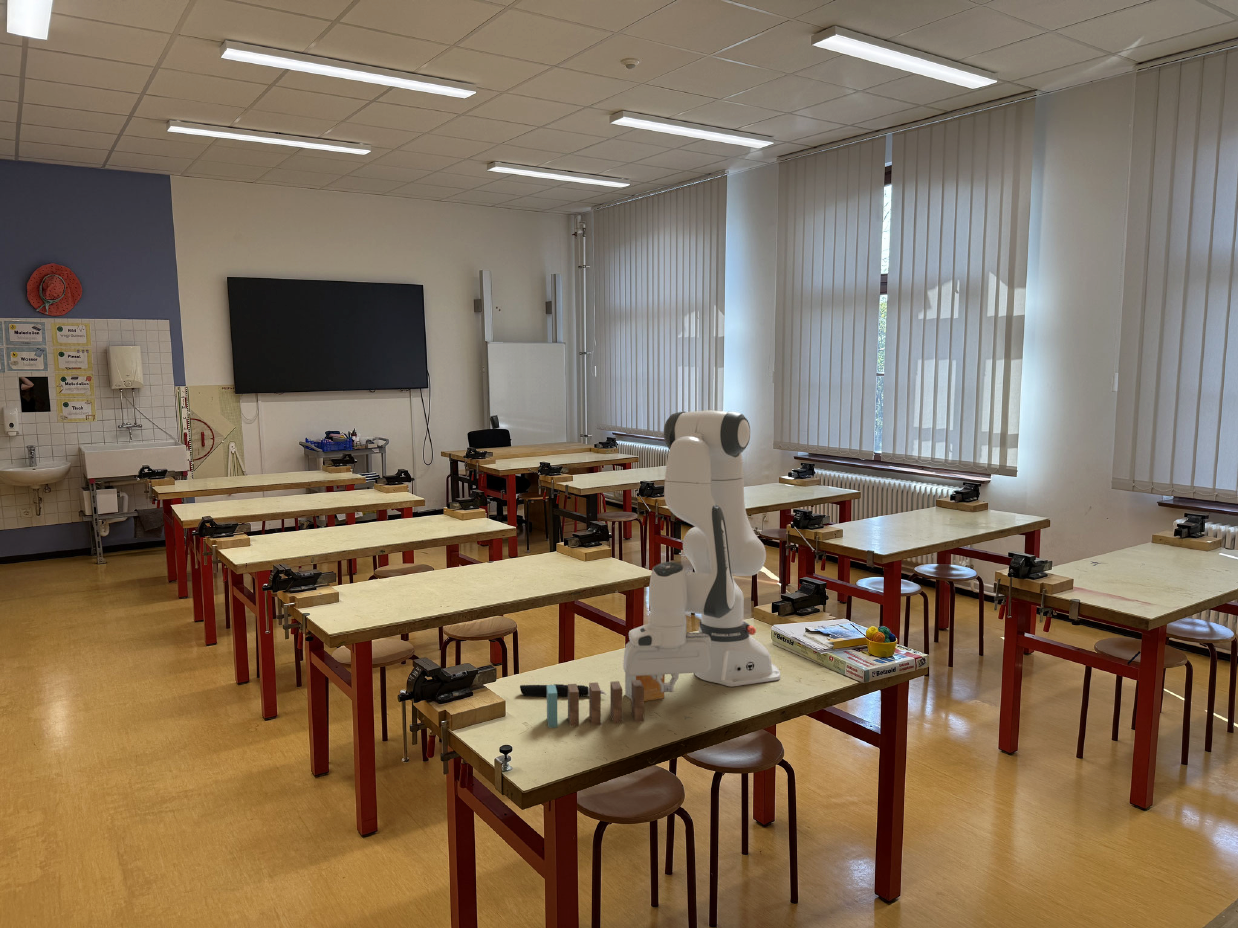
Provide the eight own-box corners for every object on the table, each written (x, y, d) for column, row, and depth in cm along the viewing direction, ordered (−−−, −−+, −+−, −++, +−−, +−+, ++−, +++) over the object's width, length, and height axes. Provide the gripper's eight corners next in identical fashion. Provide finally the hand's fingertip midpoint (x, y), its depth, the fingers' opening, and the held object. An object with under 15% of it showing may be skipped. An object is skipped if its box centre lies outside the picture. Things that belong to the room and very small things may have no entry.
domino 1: (548, 727, 188) (548, 693, 187) (546, 718, 193) (546, 685, 192) (557, 726, 188) (557, 692, 188) (555, 717, 193) (555, 684, 193)
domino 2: (576, 716, 194) (576, 683, 193) (578, 725, 189) (578, 691, 188) (567, 717, 194) (567, 684, 193) (570, 726, 189) (569, 692, 188)
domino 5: (639, 712, 196) (640, 679, 196) (643, 721, 192) (644, 687, 191) (631, 713, 196) (631, 680, 195) (635, 721, 191) (635, 688, 190)
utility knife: (606, 694, 208) (606, 682, 208) (606, 700, 204) (606, 688, 204) (521, 693, 209) (520, 682, 208) (518, 699, 205) (518, 688, 204)
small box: (635, 703, 202) (635, 651, 200) (624, 694, 207) (624, 643, 206) (665, 698, 205) (665, 647, 204) (653, 689, 211) (653, 639, 209)
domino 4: (618, 713, 196) (618, 681, 195) (622, 722, 191) (622, 689, 190) (610, 714, 195) (610, 681, 194) (613, 723, 190) (613, 689, 190)
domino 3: (597, 715, 195) (597, 682, 194) (600, 724, 190) (600, 690, 189) (589, 715, 195) (589, 682, 194) (592, 724, 190) (591, 690, 189)
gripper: (707, 627, 197) (706, 684, 199) (622, 631, 194) (621, 688, 196) (714, 635, 191) (713, 693, 193) (626, 639, 188) (626, 698, 190)
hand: (666, 691), depth 194 cm, fingers closed
